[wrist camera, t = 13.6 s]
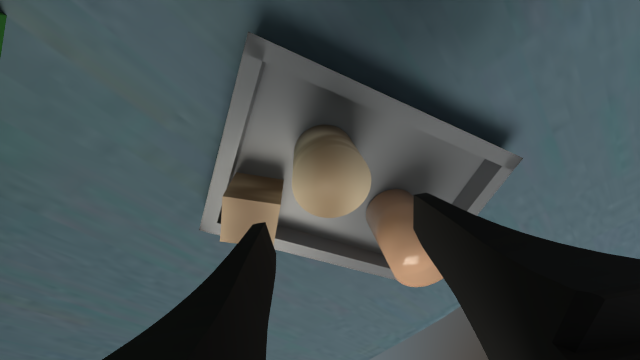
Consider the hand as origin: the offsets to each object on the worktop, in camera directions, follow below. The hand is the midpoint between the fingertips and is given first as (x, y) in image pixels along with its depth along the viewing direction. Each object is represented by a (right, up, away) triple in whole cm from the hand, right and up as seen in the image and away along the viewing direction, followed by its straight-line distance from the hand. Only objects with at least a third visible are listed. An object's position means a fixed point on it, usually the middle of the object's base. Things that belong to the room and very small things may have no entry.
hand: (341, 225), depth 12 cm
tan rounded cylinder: (+6, -1, +11) cm, 13 cm away
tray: (+2, +2, +10) cm, 11 cm away
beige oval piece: (-1, +4, +8) cm, 9 cm away
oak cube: (-7, +1, +10) cm, 12 cm away
